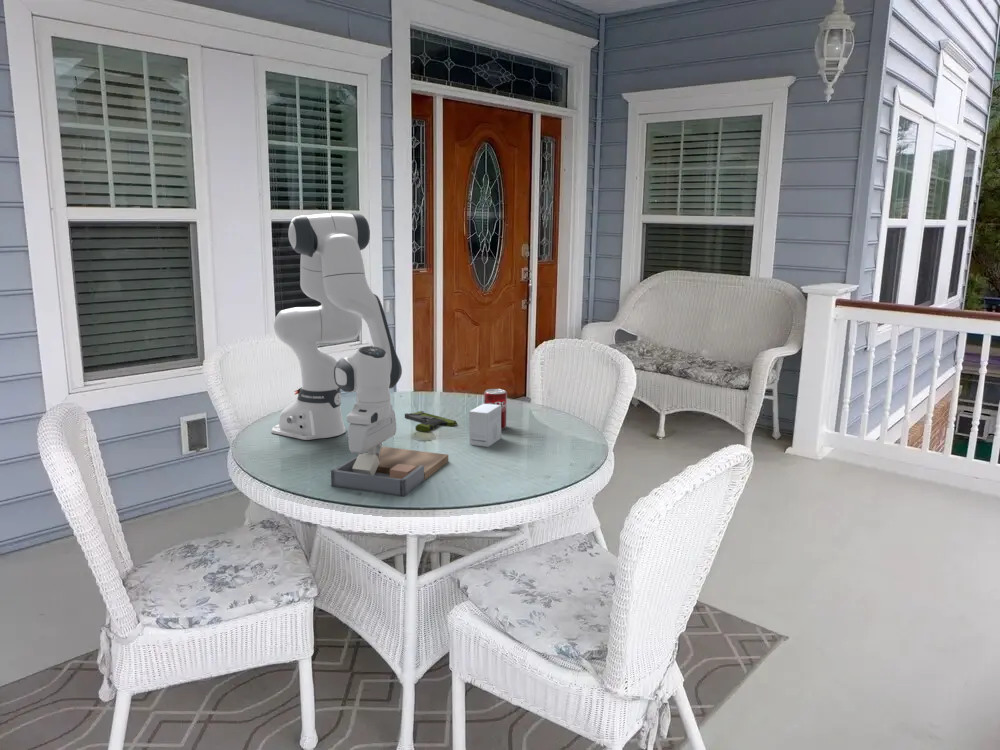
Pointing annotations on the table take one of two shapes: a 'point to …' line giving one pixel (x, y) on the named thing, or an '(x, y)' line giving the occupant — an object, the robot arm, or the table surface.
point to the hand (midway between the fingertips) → (374, 460)
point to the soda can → (497, 402)
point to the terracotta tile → (401, 471)
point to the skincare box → (485, 425)
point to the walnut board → (410, 460)
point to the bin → (375, 480)
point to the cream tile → (366, 464)
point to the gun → (429, 421)
